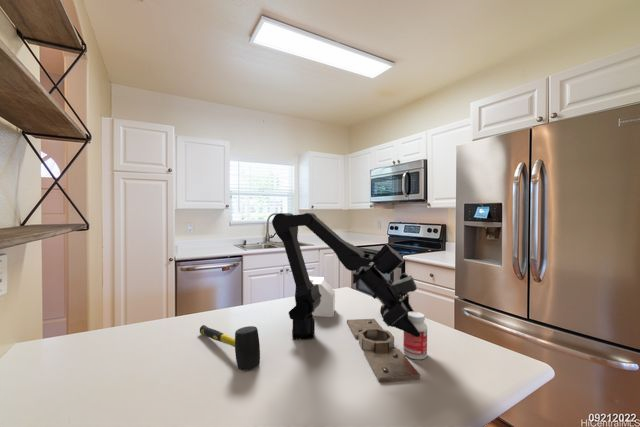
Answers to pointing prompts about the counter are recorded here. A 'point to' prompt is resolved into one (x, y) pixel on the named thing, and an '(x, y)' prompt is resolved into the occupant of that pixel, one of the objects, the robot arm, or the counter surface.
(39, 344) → the counter surface
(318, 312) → the white block
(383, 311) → the tape measure
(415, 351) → the pill bottle
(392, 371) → the brown mounting plate
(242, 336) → the mallet
